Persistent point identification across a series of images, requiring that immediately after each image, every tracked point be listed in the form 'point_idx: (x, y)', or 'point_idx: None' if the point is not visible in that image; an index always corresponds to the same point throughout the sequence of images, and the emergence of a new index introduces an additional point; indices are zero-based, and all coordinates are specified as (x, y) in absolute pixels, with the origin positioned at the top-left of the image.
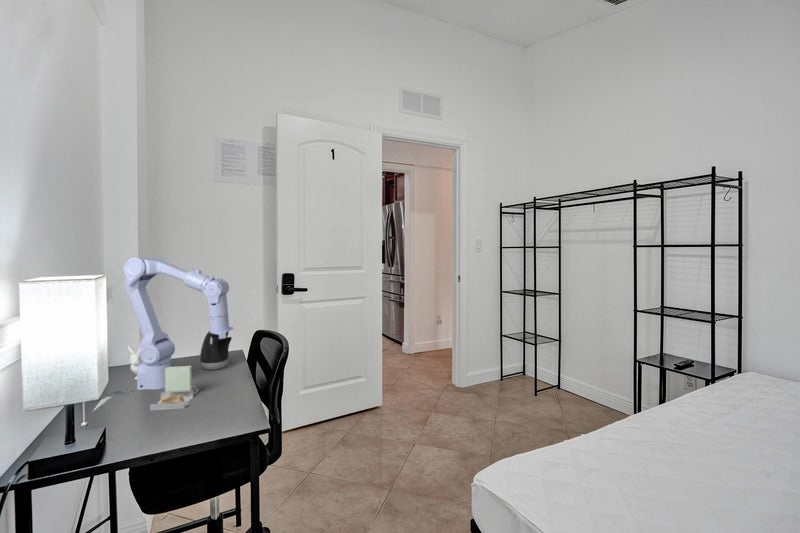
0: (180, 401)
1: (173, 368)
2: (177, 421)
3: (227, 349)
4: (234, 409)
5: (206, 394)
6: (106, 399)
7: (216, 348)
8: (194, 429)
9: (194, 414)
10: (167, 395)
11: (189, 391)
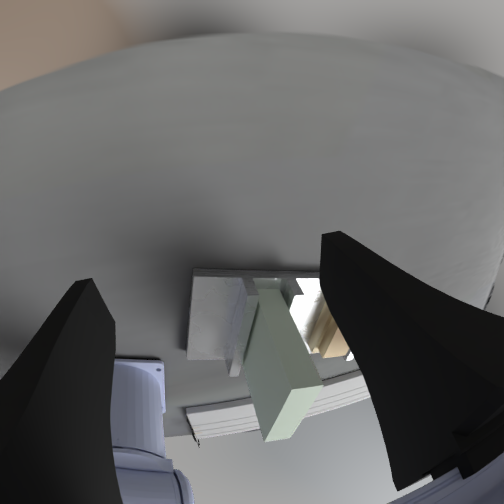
0: None
1: (298, 423)
2: (425, 271)
3: (412, 284)
4: (438, 128)
5: (239, 235)
6: (215, 434)
7: (109, 383)
8: (478, 226)
9: (411, 241)
10: (327, 350)
11: (301, 303)
